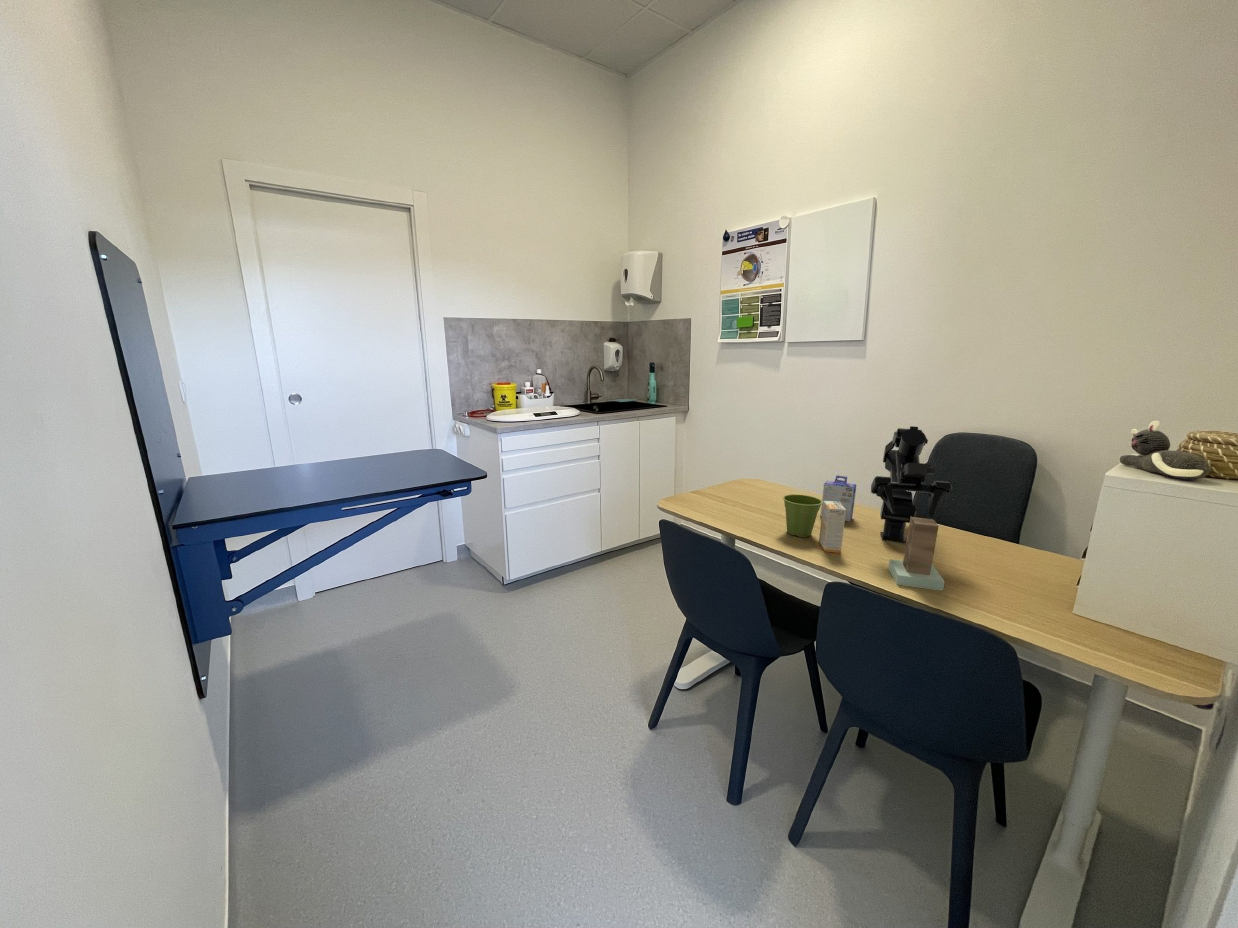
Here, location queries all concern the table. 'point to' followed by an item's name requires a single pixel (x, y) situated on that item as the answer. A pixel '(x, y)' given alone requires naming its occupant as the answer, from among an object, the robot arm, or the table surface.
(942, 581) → the sage green base block
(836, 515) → the supplement box
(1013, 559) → the table surface
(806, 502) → the plant pot
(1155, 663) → the table surface
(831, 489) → the ink cartridge box
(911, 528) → the walnut block
